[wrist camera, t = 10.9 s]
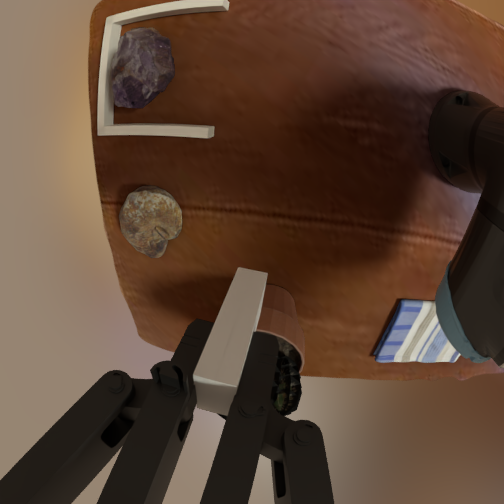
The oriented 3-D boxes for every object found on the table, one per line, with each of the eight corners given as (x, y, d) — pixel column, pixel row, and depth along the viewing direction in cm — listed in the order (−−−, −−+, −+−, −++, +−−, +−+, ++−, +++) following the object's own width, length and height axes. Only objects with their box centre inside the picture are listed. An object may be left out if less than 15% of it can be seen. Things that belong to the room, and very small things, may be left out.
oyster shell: (115, 223, 47) (97, 238, 42) (149, 165, 40) (129, 175, 35) (157, 261, 50) (142, 279, 45) (200, 210, 43) (185, 226, 38)
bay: (229, 2, 25) (224, -4, 23) (213, 136, 36) (207, 138, 34) (115, 19, 27) (106, 17, 25) (106, 133, 38) (97, 135, 36)
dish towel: (452, 357, 49) (454, 365, 47) (370, 354, 52) (371, 364, 50) (487, 303, 40) (492, 312, 38) (400, 293, 43) (404, 303, 41)
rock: (133, 98, 36) (189, 101, 35) (96, 111, 29) (157, 114, 28) (137, 29, 28) (198, 24, 27) (97, 29, 21) (164, 18, 20)
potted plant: (238, 327, 54) (201, 439, 33) (228, 271, 47) (171, 396, 26) (307, 330, 51) (294, 452, 30) (309, 272, 44) (297, 414, 23)
